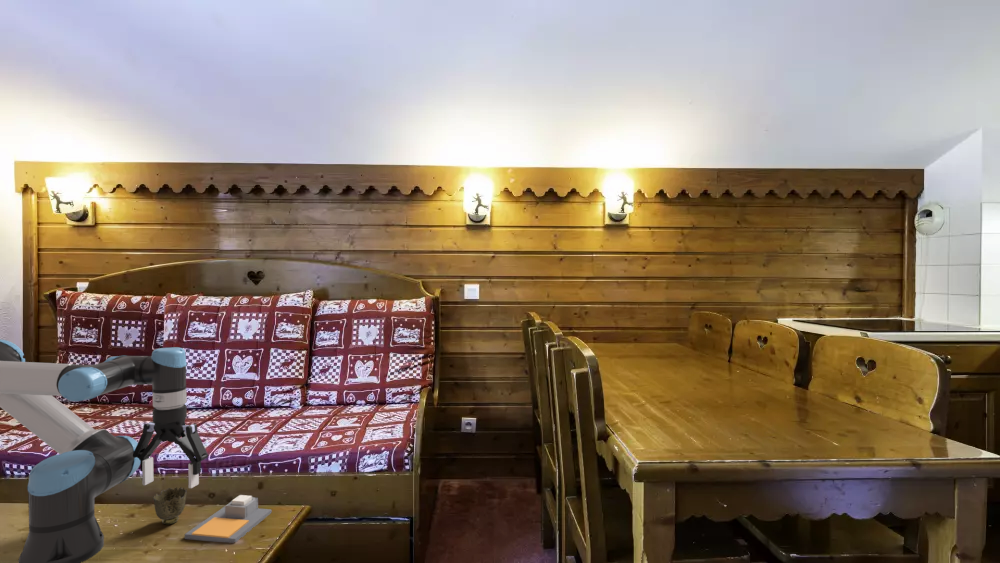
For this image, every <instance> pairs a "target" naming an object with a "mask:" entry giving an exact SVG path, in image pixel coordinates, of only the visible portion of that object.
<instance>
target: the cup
mask: <svg viewBox="0 0 1000 563" xmlns="http://www.w3.org/2000/svg"><path fill="white" fill-rule="evenodd" d="M187 490H188V489H187V488H186V489H185V487H181V486H180V487H179V488H178V487H174V489H172V488H171V487H168V488H167V489H166V490H165V489H162V490H161V491H160V494H158V493H155V494H154V496H153V497H152V499H153V503H154V511H155V514H156V516H157V517H158V518H159V519H160V520H161V522H162V524H163V525H165V526H169V525H173V524H175V523H177V522H178V520H179V519H180V517H179V516H180V515H181V514H182V513H183V512H184V510H185V506H186V502H187V501H186V500H187V492H188V491H187Z"/></svg>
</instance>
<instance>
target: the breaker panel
mask: <svg viewBox="0 0 1000 563" xmlns="http://www.w3.org/2000/svg"><path fill="white" fill-rule="evenodd" d="M271 513H272V509H270V508H269V509H268V508H259V497H254V496H252V500H251V501H250V502H249V503H247V504H246V505H245V506H241V505H232V501H230V502H229V503H228V504H225V505H224V506H222V508H221V509H218V511H215V513H213V514H211V515H210V516H209V517H207V518H206V519H204V520H203V521H201V522H200V523H198V524H197V525H196V526H194V527H193V528H191V529H190V530H189V531H187V532H186V533H185V534H184V539H185V540H193V541H203V542H218V543H231V544H232V543H234V542H236V543H237V542H238V541H239V539H240V538H241V537H242V538H244V536H245V535H247V534H248V533H249V532H251V531H252V530H253V529H254V528H255V527H256V526H257V525H259V524H260V523H261V522H262V521H264V520H265V519H266V518H267V517H268V516H270V515H271ZM253 527H254V528H253ZM252 528H253V529H252ZM247 532H248V533H247ZM246 533H247V534H246ZM242 538H241V539H242ZM241 539H240V540H241ZM234 544H235V543H234Z"/></svg>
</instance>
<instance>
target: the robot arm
mask: <svg viewBox="0 0 1000 563" xmlns="http://www.w3.org/2000/svg"><path fill="white" fill-rule="evenodd" d="M24 356H25V354H24V352H23V350H22V349H21V348H20V346H18V345H17V344H15V343H14V342H12V341H10V340H7V339H1V338H0V408H1V409H2V410H3V411H4V412H5V413H7V414H8V415H10V417H12V418H13V419H14V420H16V421H17V422H18V423H20V424H21V425H22V426H23V427H25V428H26V429H27V430H29V432H31V433H32V434H34V436H36V437H38V438H39V439H40V440H41V442H44V443H45V444H46V445H47V446H49V447H50V448H51V449H53V450H54V451H55V452H56V453H58V454H54V455H51V456H50V457H47V458H45V459H43V460H41V461H39V463H37V464H35V465H34V466H33V467H32V469H31V470H30V472H29V476H28V483H27V498H28V499H27V500H28V501H27V502H28V535H27V537H26V540H25V543H24V546H23V549H22V552H21V553H20V555H19V557H18V563H81V562H82V563H84V562H86V561H88V560H90V559H91V558H92V557H94V556H95V555H97V554H98V553H99V552H100V551H101V550H102V549H104V546H105V537H104V533H103V532H102V530H101V527H100V523H99V522H98V520H97V518H96V517H95V498H96V497H98V496H100V495H102V494H104V493H105V492H107V491H109V490H110V489H112V488H113V487H115V486H117V485H119V484H121V483H123V482H125V481H126V480H128V479H129V478H130V476H133V475H134V474H135V473H136V472H137V470H138V469H139V468H140V472H142V476H141V478H142V483H141V484H142V486H146V485H149V484H151V483H152V482H154V480H155V478H154V457H153V455H152V454H153V453H154V452H155V451H156V449H157V448H158V447H159V446H160V444H161V443H162V442H170V443H175V445H178V446H179V448H180V449H181V450H182V452H183V453H184V455H185V457H187V458H188V460H189V461H190V462H189V463H188V467H187V468H188V489H193V488H194V487H196V486H198V485H199V484H200V475H199V474H200V473H201V472H202V469H201V468H202V461H204V460H206V459H207V458H209V454H208V452H207V449H206V447H205V446H204V443H203V441H202V438H201V436H200V434H199V432H198V426H197V423H196V422H195V423H192V424H186V419H187V416H188V415H187V414H188V412H187V410H188V409H187V407H188V406H187V404H186V403H187V402H188V400H187V399H188V398H187V396H188V394H187V365H188V364H187V357H186V350H185V349H184V348H182V347H178V346H176V347H174V346H173V347H172V346H171V347H161V348H156V349H153V351H152V353H151V355H119V356H118V355H117V356H109V357H108V358H107V359H105V361H103V362H99V363H96V364H74V363H57V362H56V363H55V362H54V363H53V362H35V361H32V362H31V361H30V362H29V361H26V358H24ZM133 385H138V386H139V385H151V387H152V407H153V409H152V421H151V422H148V423H145V424H143V426H142V433H141V436H140V437H139V439H138V442H137V440H136V439H134V438H133V437H131V436H128V435H116V436H115V435H113V434H112V433H111V432H109V430H107V429H105V428H102V429H101V428H100V429H99V428H98V429H95V428H93V426H91V425H90V424H89V423H87V422H86V421H85V420H83V419H82V418H81V417H80V416H78V415H77V414H76V413H74V412H73V411H72V410H71V409H69V407H67V406H66V405H65V404H63V403H62V402H61V401H59V399H57V398H56V396H58V397H59V396H60V397H62V398H64V399H66V400H68V401H70V402H82V401H87V400H92V399H95V398H97V397H99V396H103V395H104V394H108V393H111V392H113V391H117V390H120V389H124V388H126V387H129V386H133ZM154 433H155V435H154ZM153 435H154V436H153ZM152 437H153V438H152Z"/></svg>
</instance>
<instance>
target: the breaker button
mask: <svg viewBox="0 0 1000 563" xmlns="http://www.w3.org/2000/svg"><path fill="white" fill-rule="evenodd" d="M252 497H253V495H245V494H239V495H238V496H236V497H235V498H234V499H232V500H231V502H232V505H241V506H245V505H246V504H247V503H249V502H250V501H251V500H252Z"/></svg>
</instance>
